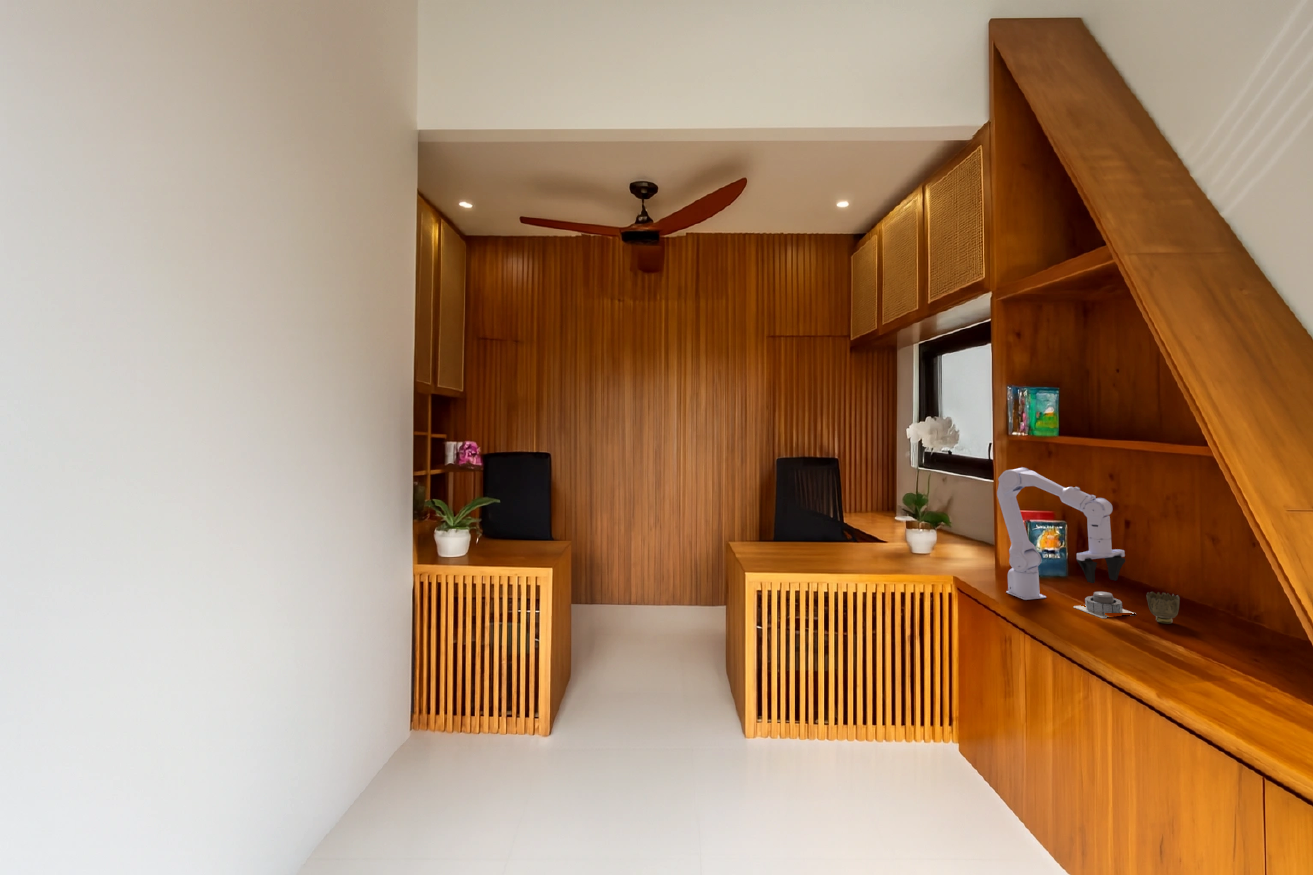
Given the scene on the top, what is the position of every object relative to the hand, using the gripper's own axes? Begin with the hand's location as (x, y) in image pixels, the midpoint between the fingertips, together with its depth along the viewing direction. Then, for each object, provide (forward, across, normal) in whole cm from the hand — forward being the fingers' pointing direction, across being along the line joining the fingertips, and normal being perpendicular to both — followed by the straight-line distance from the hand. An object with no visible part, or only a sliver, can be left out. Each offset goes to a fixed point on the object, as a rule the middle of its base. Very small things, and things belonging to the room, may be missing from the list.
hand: (1102, 581), depth 182 cm
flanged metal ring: (+9, 0, 0) cm, 9 cm away
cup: (+10, +7, -13) cm, 18 cm away
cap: (+9, 0, 0) cm, 9 cm away
